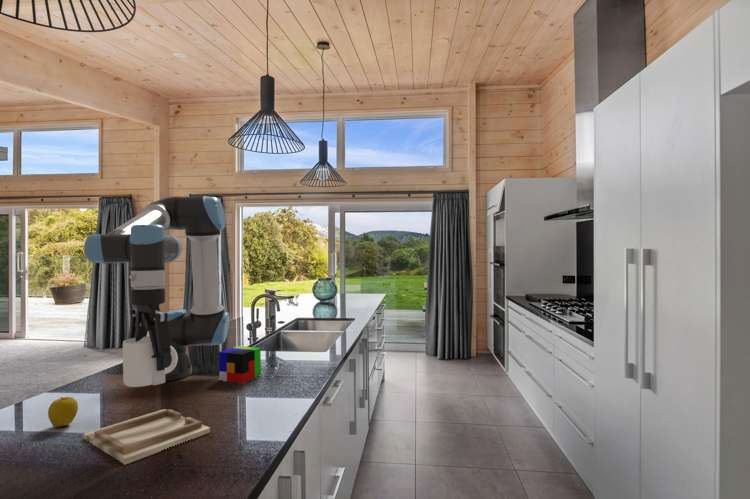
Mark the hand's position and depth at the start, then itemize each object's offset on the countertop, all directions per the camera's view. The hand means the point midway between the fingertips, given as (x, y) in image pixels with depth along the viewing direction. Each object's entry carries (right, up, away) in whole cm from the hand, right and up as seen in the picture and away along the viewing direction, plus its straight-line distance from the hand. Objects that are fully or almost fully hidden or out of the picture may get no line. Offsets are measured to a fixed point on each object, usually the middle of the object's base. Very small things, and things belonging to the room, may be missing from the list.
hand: (148, 380), depth 107 cm
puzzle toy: (+7, -14, +48) cm, 51 cm away
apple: (-26, -14, +7) cm, 30 cm away
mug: (+1, 0, 0) cm, 1 cm away
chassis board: (-1, -14, +1) cm, 14 cm away
